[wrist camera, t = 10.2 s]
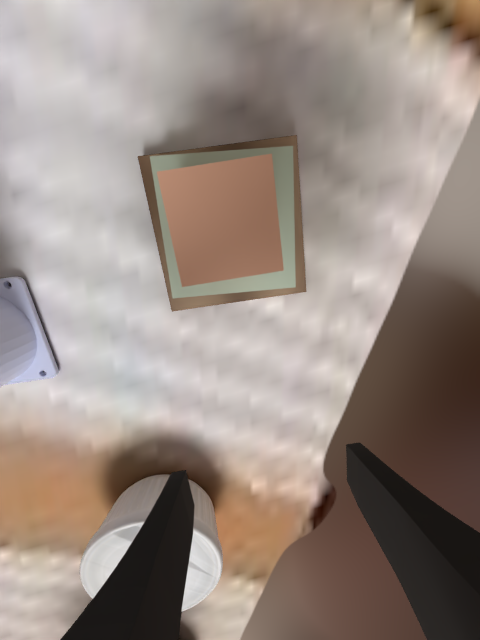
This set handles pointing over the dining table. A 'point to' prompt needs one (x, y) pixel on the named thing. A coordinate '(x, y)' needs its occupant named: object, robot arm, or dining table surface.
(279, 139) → the tower base
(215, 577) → the ramekin
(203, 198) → the terracotta block
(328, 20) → the dining table surface
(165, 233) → the tower top
